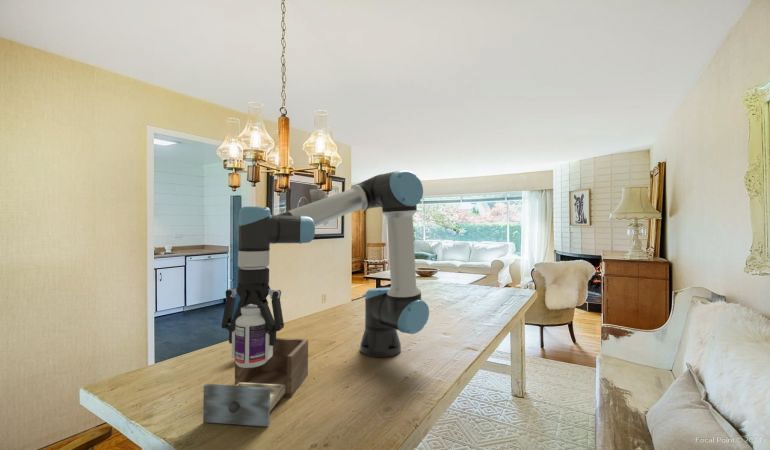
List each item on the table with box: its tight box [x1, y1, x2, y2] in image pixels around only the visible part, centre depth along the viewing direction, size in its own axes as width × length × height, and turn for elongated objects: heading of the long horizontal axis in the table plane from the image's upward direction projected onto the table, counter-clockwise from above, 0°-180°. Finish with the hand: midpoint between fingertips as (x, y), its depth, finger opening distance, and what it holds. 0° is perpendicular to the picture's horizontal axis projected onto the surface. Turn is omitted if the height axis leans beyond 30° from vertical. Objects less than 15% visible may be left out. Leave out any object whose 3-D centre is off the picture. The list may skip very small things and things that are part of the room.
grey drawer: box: [202, 382, 285, 427], centre depth 86 cm, size 16×15×8 cm
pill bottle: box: [234, 304, 269, 368], centre depth 88 cm, size 8×8×14 cm
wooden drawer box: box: [234, 337, 309, 398], centre depth 101 cm, size 16×14×11 cm
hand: (252, 356), depth 88 cm, fingers closed on pill bottle, 8 cm apart
